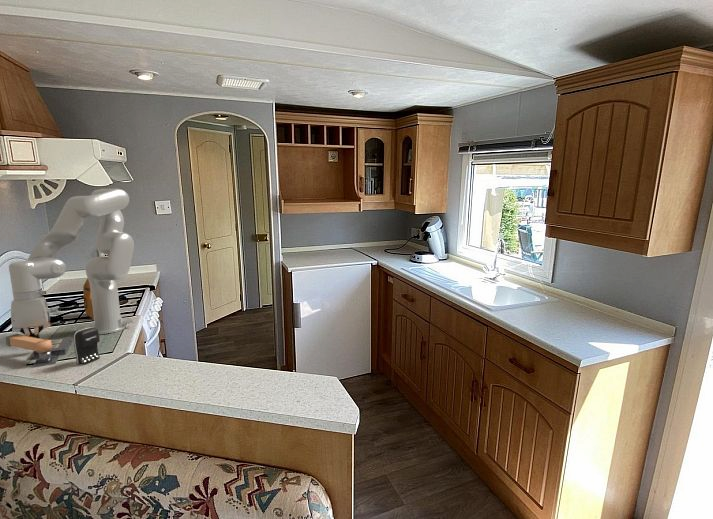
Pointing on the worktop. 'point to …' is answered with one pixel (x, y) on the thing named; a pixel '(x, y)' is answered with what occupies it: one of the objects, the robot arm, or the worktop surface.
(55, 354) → the label panel
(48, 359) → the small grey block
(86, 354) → the battery charger
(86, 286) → the coffee package
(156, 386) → the worktop surface
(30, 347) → the swing bar
